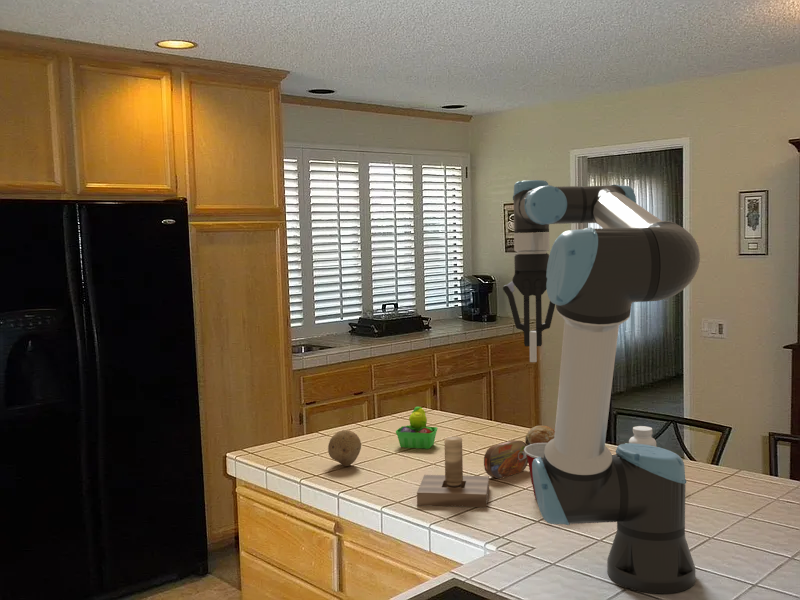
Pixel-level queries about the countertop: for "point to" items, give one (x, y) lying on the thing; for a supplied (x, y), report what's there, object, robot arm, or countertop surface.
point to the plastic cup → (534, 456)
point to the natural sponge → (344, 447)
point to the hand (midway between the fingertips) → (533, 361)
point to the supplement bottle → (642, 436)
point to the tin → (505, 459)
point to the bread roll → (539, 435)
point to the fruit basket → (417, 431)
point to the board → (453, 492)
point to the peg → (453, 462)
